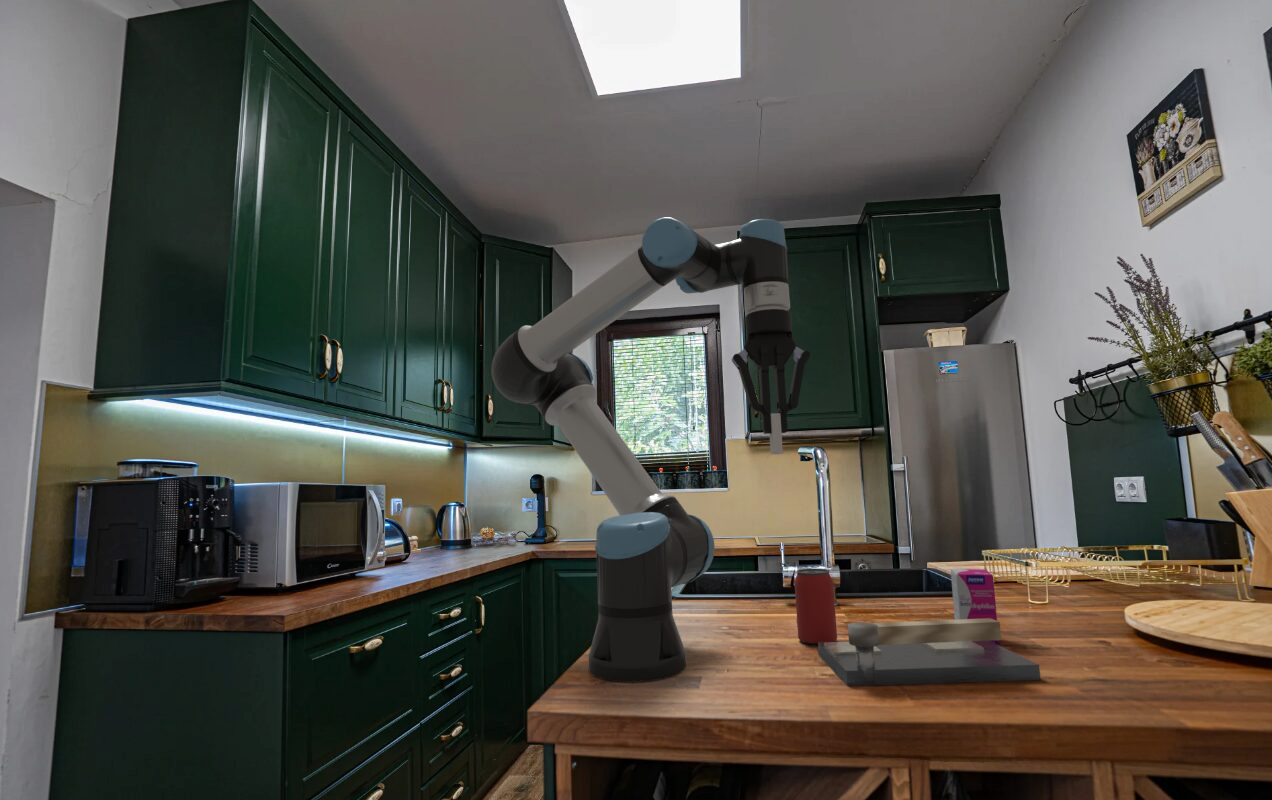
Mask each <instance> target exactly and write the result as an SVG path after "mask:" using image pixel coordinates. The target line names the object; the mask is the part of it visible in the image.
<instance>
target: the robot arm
mask: <svg viewBox="0 0 1272 800" xmlns="http://www.w3.org/2000/svg"><path fill="white" fill-rule="evenodd" d="M785 235H786V234H785V229H784V226H783V224H782V223H780V222H779V221H778V220H776V219H770V218H760V219H759V218H758V219H753V220H751V221H749V222H747V223H744V224H743V225H742V226H741V227H740V230H739V236H738V237H739V238H738V239H735V240H732V241H728V242H723V243H718V244H714V243H712V242H711V241H710V240H709V239H706V238H705V237H704V236H702V235H701V234H699V233H697V231H695V230H694V229H693V228H692V227H691V226H690V225H687V224H686V223H684V222H682V221H680V220H678V219H675V218H673V217H670V216H667V217H660V218H658V219H655V220H654V221H653V222H651V223H650V224H649V225H648V226H647V229H646V230H645V232H644V233H643V235H642V240H641V246H640V247H638V248H637V249H636V250H634V251H633V252H631V253H629V255H627V256H626V257H625V258H623V259H622V260H621V261H619V262H618V263H616V264H615V265H614V266H612V267H611V268H609V269H608V270H607V271H605V272H604V273H602V275H600V276H599V277H597V278H596V279H595V280H594V281H592V282H591V283H589V284H588V285H586V286H585V287H583V288H582V289H581V290H580V291H578V292H577V293H576V294H575V295H573V296H572V297H570V298H569V299H567V300H566V301H565V302H563V303H562V304H560V306H558V307H556V308H555V309H554V310H553V311H551V312H550V313H548V314H547V315H546V316H544V317H543V318H542V319H540V320H538V322H537V323H535V324H533V325H529V324H528V325H527V324H526V325H523V326H520V328H519V329H518V330H516V331H514V332H513V333H512V334H510V335H509V336H508V337H507V338H506V339H505V340H504V341H503V342H502V343H501V344H500V346H499V347H498V349H497V350H496V351H495V354H494V355H493V358H492V362H491V377H492V378H491V379H492V381H493V383H494V384H493V385H494V386H495V388H496V389H497V391H498V392H499V393H500V394H501V395H502V396H503V397H504V398H506V399H507V400H508V401H511V402H514V403H516V404H517V403H518V404H524V405H531V406H535V408H537V410H538V411H539V413H540V414H541V416H542V417H543V419H544V420H545V422H546V423H547V424H548V425H550V426H553V427H554V426H556V427H559V428H560V430H561V431H562V433H563V434H564V435H565V438H566V439H567V440H568V441H569V442H570V444H571V446H572V447H573V449H574V450H575V452H576V453H577V455H578V456H579V458H580V459H581V461H582V463H584V465H585V466H586V468H587V469H588V471H589V472H590V474H591V475H592V477H593V478H594V480H595V481H596V483H597V484H598V485H599V487H600V488H601V490H602V491H603V492H604V494H605V496H606V498H608V500H609V501H610V503H611V504H612V506H613V507H614V509H615V510H616V512H617V513H618V515H616V516H612V517H609V518H606V519H604V520H603V521H601V522H600V523H599V524H598V526H597V528H596V534H595V535H596V540H595V541H596V542H595V545H594V546H595V547H594V549H595V554H596V576H597V577H596V579H597V582H596V583H597V604H598V618H597V619H598V620H597V623H596V627H595V632H594V634H593V637H592V640H591V641H592V643H591V645H590V649H589V653H588V672H589V673H590V675H592V676H594V677H596V678H599V679H603V680H607V681H614V682H615V681H616V682H648V681H655V680H661V679H665V678H669V677H670V678H671V677H673V676H676V675H678V674H680V673H682V672H683V671H685V669H686V668H687V657H686V656H687V655H686V649H685V647H684V643H683V642H682V638H681V635H680V632H679V630H678V627H677V624H676V621H675V618H674V614H673V594H672V588H674V587H678V586H680V585H687V584H690V583H692V582H694V581H695V580H696V579H697V578H699V577H701V576H702V575H704V574H705V572H706V571H708V569H709V568H710V566H711V564H712V562H713V560H714V554H715V547H716V546H715V540H714V536H713V533H712V531H711V529H710V527H709V525H707V523H706V522H705V521H704V520H702V519H701V518H700V517H697V516H696V515H693V514H689V513H688V512H687V511H686V510H685V509H684V507H683V506H682V504H681V503H680V501H679V500H678V499H677V497H676V496H674V495H669V494H664V493H662V491H661V490H660V488H659V487H658V486H657V485H656V482H655V481H653V478H652V477H651V476H650V474H648V472H647V471H646V470H645V468H644V467H643V465H642V464H641V463H640V461H639V460H638V458H637V457H636V456H635V455H634V452H632V450H631V448H629V446H628V445H627V444H626V442H625V440H623V437H622V436H621V435H620V434H619V433H618V431H617V429H616V428H615V426H614V425H613V424H612V423H611V422H610V420H609V418H608V417H607V416H606V415H605V413H604V412H603V410H602V409H601V408H600V407H599V405H598V404H597V402H596V401H595V400H596V398H597V397H596V396H597V389H596V388H595V386H594V384H593V380H594V376H593V372H592V370H591V367H590V366H589V364H588V363H587V362H586V360H584V359H583V358H581V357H580V356H578V355H577V354H574V353H573V352H572V351H574V350H575V349H576V348H578V347H579V346H581V345H582V344H583V343H585V342H586V341H588V340H589V339H590V338H592V337H594V336H595V335H597V333H599V332H600V331H602V330H604V329H605V328H607V327H608V326H610V324H612V323H614V322H615V321H617V320H618V319H619V318H621V317H622V316H623V315H624V314H626V313H628V312H630V310H632V309H634V307H636V306H638V305H639V304H641V303H642V302H643V301H646V299H648V298H649V297H651V296H652V295H653V294H655V293H656V292H657V291H659V290H661V289H662V288H664V287H665V286H667V285H668V284H670V283H671V282H673V281H674V280H675V283H676V284H677V286H679V289H680V290H681V292H683V293H685V294H695V293H696V294H697V293H698V294H699V293H700V294H702V293H706V292H709V291H710V292H711V291H713V290H718V289H719V290H720V289H723V288H729V287H733V286H737V285H742V284H743V285H742V287H743V300H744V301H743V302H744V303H743V304H744V313H746V316H745V321H744V322H745V336H746V337H745V338H746V340H745V344H744V346H743V349H742V350H741V351H739V352H738V353H735V354H734V355H733V356H732V358H731V362H732V363H733V365H734V366H735V367H736V369H737V370H738V374H739V376H740V380H741V383H742V386H743V389H744V392H745V395H746V399H747V403H748V406H749V408H750V410H751V411H752V412H756V413H759V414H760V415H761V419H762V420H761V421H762V432H763V434H764V435H769V445H770V447H769V448H770V455H780V454H781V455H782V454H784V451H783V450H784V449H783V437H782V436H783V434H786V433H787V432H788V416H787V415H788V412H790V411H792V410H795V409H796V408H798V404H799V399H800V395H801V394H800V393H801V389H802V382H803V377H804V372H805V366H806V363H807V362H808V359H809V358H810V357H811V352H810V351H809V350H803V349H801V348H800V347H798V346H797V343H796V341H795V339H794V338H793V329H792V327H793V325H792V313H791V312H790V311H789V310H790V309H791V301H790V288H789V286H790V285H789V273H788V247H787V243H786V236H785ZM792 355H793V361H794V362H795V364H794V366H793V372H792V378H791V384H790V389H789V395H788V401H787V390H786V376H785V370H786V369H785V368H786V367H785V366H786V364H787V362H788V361H789V359H790V358H791V357H792ZM748 358H749V359H750V360H751V361H752V362H753V364H754V365H755V366H756V367H757V370H758V378H759V380H758V381H759V395H760V396H759V398H760V399H759V398H758V396H757V392H756V390H755V387H754V383H753V380H752V376H751V373H750V370H749V367H748V365H747V363H748V361H749V360H748ZM770 368H771V369H772V368H773V375H774V376H773V377H774V389H775V403H776V412H777V413H776V412H775V413H771V411H772V404H771V388H770V387H771V386H770V373H769V372H770ZM758 399H759V400H760V402H759V400H758Z"/></svg>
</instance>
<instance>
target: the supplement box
mask: <svg viewBox="0 0 1272 800" xmlns="http://www.w3.org/2000/svg"><path fill="white" fill-rule="evenodd" d="M950 578H951V588H952V589H951V590H952V602H953V603H952V604H953V616H954V620H960V619H985V618H991V619H994V620H996V621H998V615H997V604H996V603H997V602H996V595H995V594H996V593H995V581H994V580H995V579H994V575H993V574H992V573H991V572H990V571H988V570H987V569H984V568H983V569H981V568H979V569H978V568H977V569H976V568H951V569H950ZM989 641H991V642H993V643H995V644H997V645H999V644H1000V640H989ZM999 646H1000V645H999Z"/></svg>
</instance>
